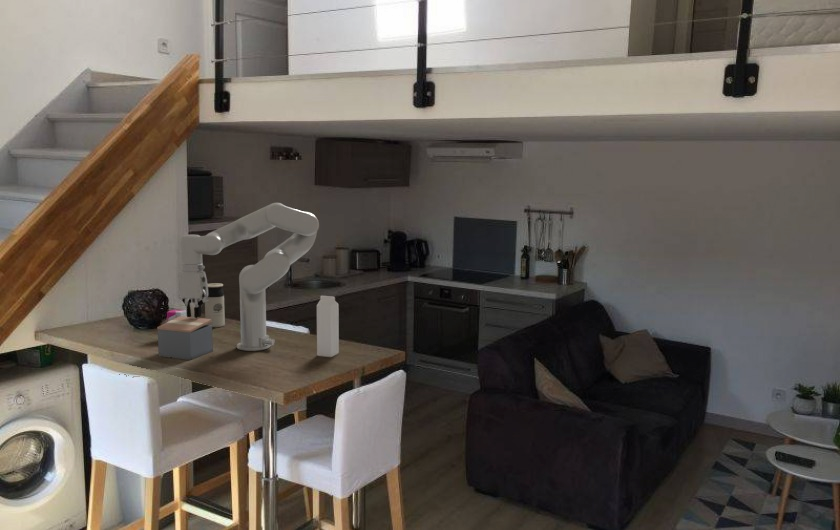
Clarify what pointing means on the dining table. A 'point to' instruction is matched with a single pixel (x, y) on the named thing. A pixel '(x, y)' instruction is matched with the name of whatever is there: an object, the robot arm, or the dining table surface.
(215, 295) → the travel mug
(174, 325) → the lid
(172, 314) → the supplement box
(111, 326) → the dining table surface
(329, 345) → the milk
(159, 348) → the carton
